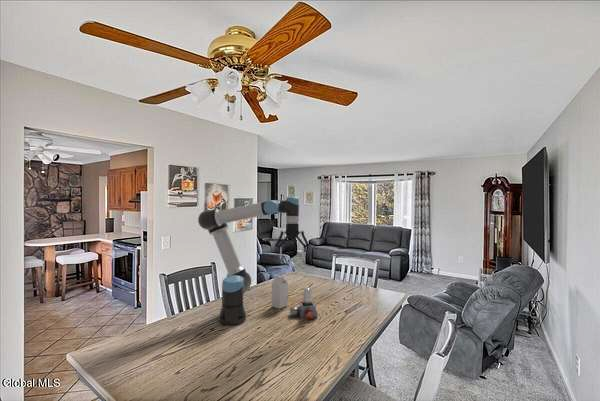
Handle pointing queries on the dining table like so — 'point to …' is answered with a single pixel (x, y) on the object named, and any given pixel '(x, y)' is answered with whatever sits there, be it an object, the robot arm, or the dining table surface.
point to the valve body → (304, 311)
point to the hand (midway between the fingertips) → (291, 258)
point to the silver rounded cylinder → (307, 296)
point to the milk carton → (279, 292)
